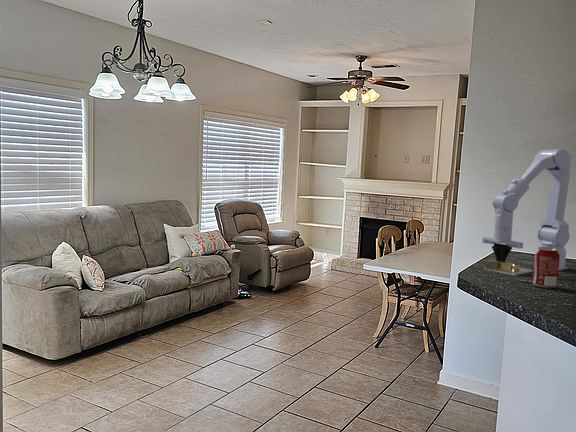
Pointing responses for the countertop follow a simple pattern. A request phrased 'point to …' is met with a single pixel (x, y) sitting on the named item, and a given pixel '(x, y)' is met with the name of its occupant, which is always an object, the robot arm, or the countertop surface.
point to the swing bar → (507, 265)
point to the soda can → (546, 267)
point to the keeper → (493, 266)
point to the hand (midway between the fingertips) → (500, 265)
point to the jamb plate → (521, 271)
